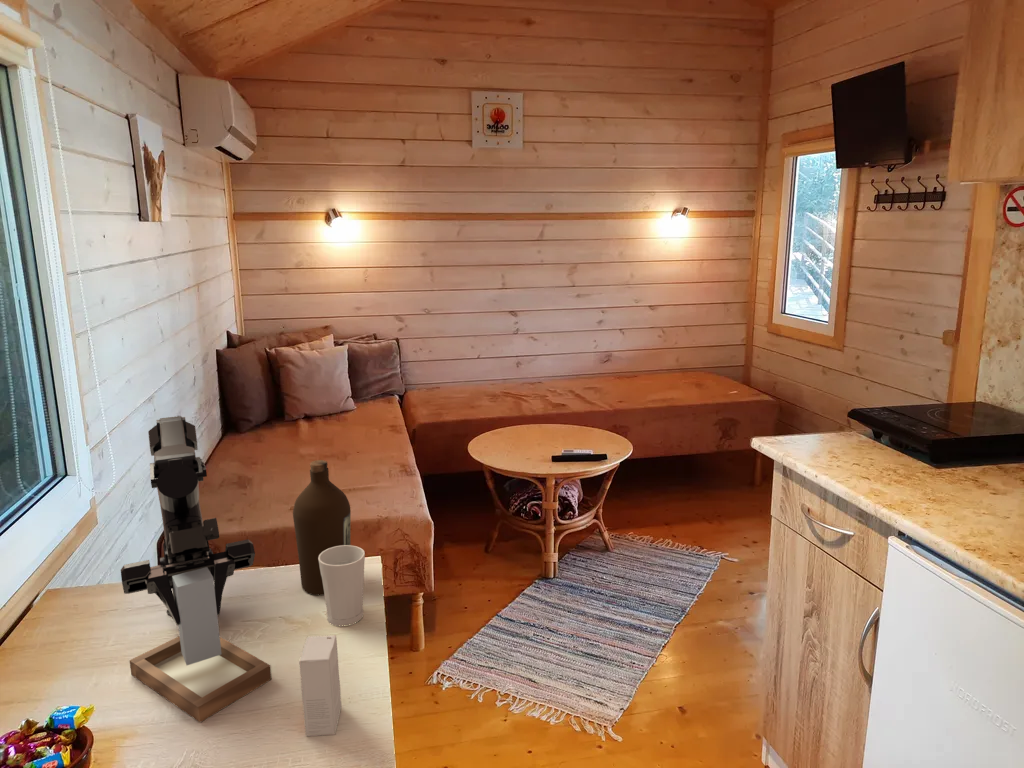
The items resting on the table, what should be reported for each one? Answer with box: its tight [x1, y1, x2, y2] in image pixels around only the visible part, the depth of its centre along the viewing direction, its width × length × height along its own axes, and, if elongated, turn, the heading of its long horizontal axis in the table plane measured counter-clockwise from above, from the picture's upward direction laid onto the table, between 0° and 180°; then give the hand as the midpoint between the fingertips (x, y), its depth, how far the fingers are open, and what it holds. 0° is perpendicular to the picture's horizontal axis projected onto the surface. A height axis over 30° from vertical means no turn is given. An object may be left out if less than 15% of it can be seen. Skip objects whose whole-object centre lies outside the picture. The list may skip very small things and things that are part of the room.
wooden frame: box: [129, 636, 272, 723], centre depth 112 cm, size 19×12×2 cm, turn 54°
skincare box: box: [298, 634, 342, 737], centre depth 101 cm, size 6×4×12 cm
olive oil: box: [292, 459, 352, 596], centre depth 138 cm, size 11×11×25 cm
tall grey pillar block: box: [172, 567, 222, 665], centre depth 110 cm, size 4×5×13 cm
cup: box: [318, 544, 366, 627], centre depth 128 cm, size 8×8×12 cm
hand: (198, 619), depth 108 cm, fingers closed on tall grey pillar block, 5 cm apart
